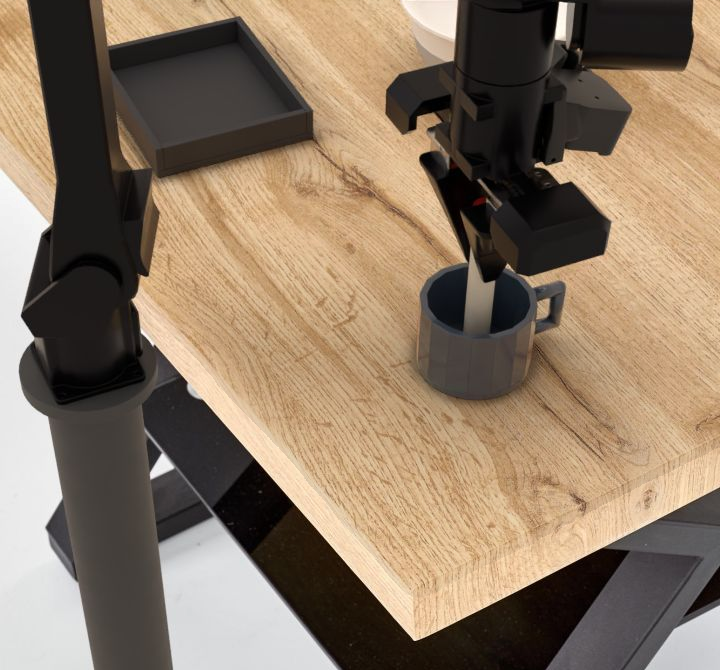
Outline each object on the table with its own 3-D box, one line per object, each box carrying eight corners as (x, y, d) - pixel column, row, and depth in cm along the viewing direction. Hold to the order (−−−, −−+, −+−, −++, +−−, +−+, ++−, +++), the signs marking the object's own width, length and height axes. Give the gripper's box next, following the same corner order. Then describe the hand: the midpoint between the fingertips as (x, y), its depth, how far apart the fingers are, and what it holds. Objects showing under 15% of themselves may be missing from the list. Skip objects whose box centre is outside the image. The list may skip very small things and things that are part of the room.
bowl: (406, 146, 126) (410, 50, 119) (385, 37, 136) (388, -56, 130) (603, 138, 127) (618, 42, 120) (567, 31, 137) (579, -62, 131)
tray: (158, 178, 122) (155, 150, 120) (94, 77, 131) (90, 49, 129) (313, 138, 126) (313, 110, 124) (241, 43, 135) (240, 15, 133)
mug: (448, 413, 106) (453, 351, 102) (397, 341, 110) (400, 280, 106) (586, 368, 109) (596, 307, 105) (530, 301, 113) (538, 239, 109)
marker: (469, 350, 107) (482, 219, 98) (456, 332, 108) (467, 201, 100) (495, 342, 107) (510, 211, 99) (481, 324, 108) (495, 193, 100)
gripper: (708, 112, 88) (663, 324, 100) (544, -44, 99) (521, 163, 111) (535, 159, 85) (509, 373, 97) (385, -8, 96) (378, 202, 108)
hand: (482, 270), depth 103 cm, fingers closed on marker, 2 cm apart
